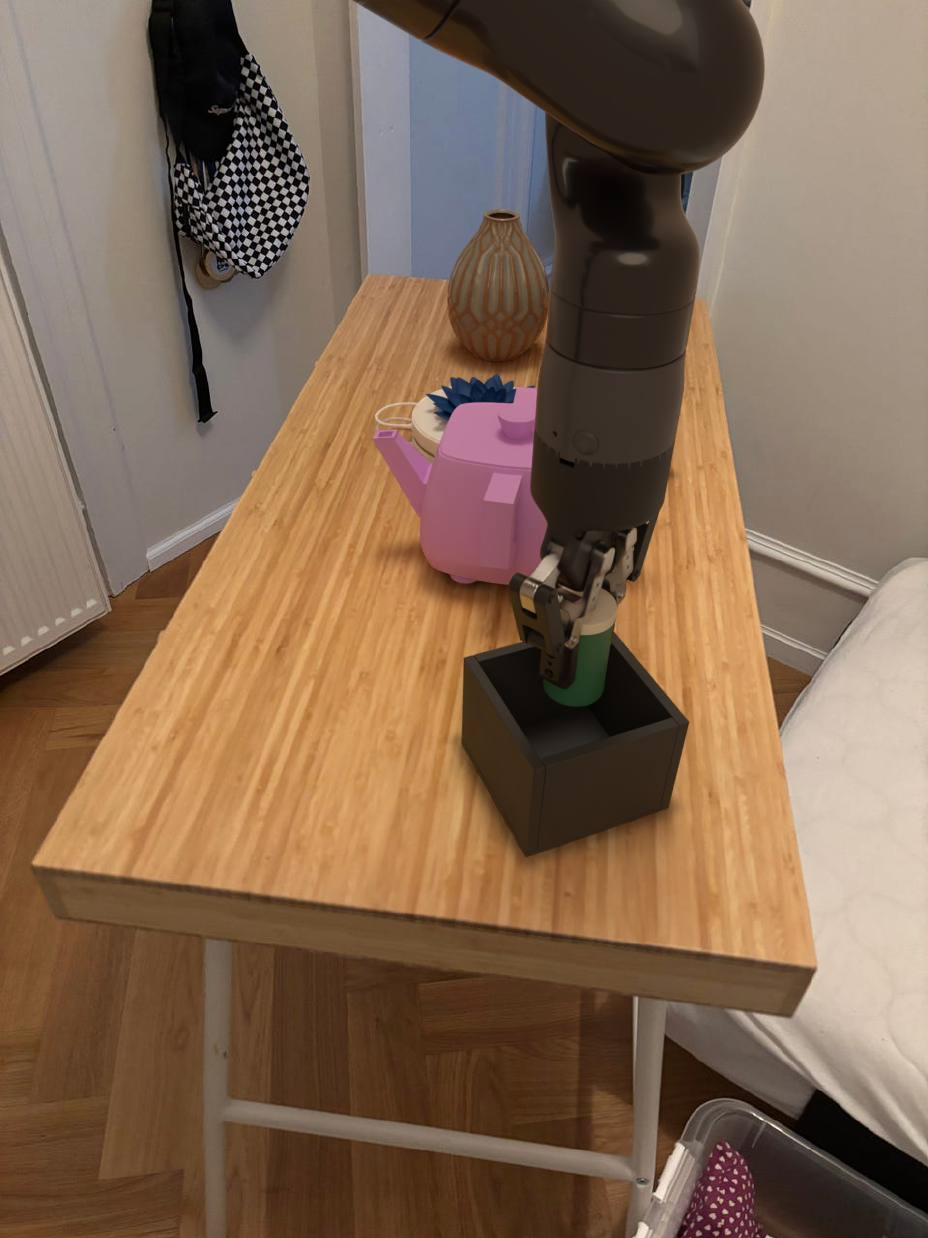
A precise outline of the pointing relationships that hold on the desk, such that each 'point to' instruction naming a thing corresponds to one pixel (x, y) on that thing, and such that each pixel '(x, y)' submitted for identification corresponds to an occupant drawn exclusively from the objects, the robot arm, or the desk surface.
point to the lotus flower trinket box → (446, 409)
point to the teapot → (475, 491)
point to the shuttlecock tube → (589, 654)
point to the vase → (498, 290)
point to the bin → (569, 746)
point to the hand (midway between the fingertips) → (575, 661)
